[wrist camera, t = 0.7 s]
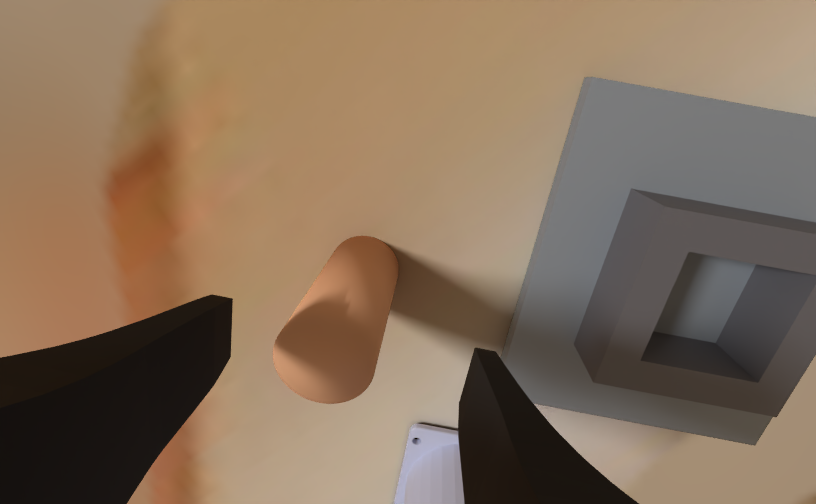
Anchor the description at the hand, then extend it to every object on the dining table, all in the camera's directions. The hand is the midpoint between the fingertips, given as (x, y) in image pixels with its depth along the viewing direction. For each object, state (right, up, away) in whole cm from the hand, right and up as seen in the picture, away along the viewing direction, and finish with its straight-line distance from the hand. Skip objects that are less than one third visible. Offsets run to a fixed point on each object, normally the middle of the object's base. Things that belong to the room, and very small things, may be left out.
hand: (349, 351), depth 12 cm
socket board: (+15, +2, +8) cm, 17 cm away
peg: (-1, +2, +9) cm, 10 cm away
